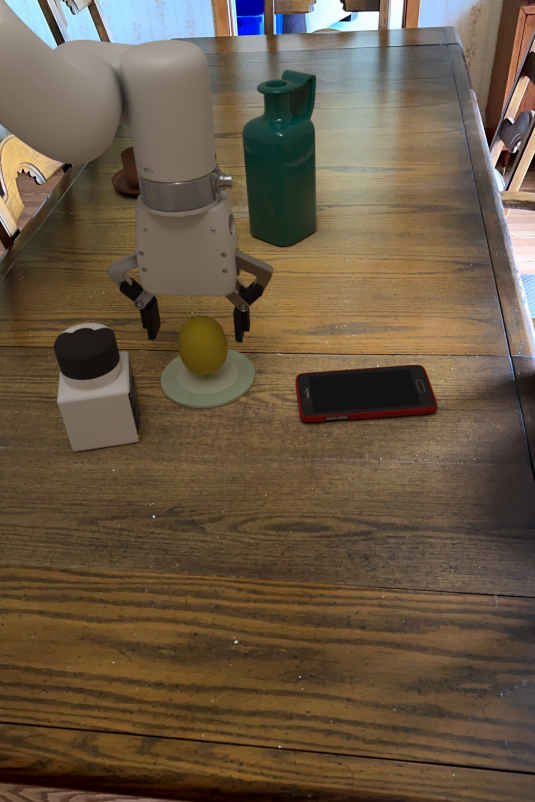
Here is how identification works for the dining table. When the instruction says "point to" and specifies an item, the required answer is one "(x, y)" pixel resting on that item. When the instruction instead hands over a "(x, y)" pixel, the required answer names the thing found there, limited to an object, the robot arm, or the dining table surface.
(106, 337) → the medicine bottle
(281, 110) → the pitcher
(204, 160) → the robot arm
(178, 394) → the saucer
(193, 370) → the lemon
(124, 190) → the cup and saucer
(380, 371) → the cell phone
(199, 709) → the dining table surface
